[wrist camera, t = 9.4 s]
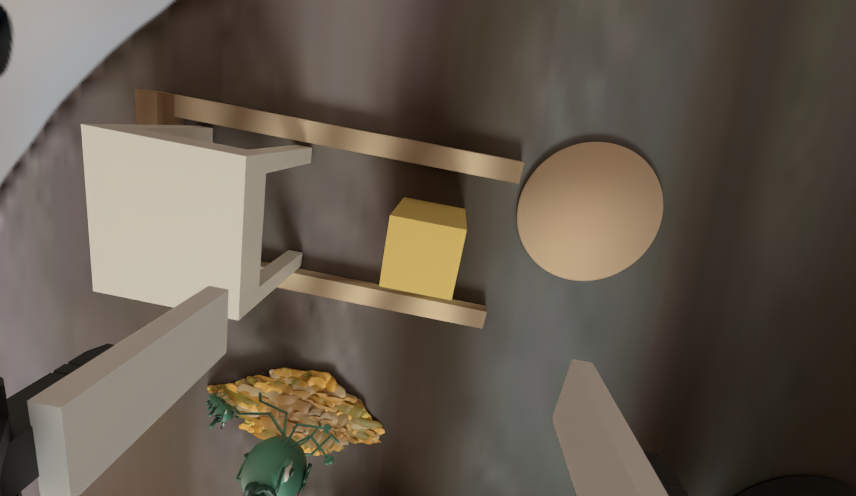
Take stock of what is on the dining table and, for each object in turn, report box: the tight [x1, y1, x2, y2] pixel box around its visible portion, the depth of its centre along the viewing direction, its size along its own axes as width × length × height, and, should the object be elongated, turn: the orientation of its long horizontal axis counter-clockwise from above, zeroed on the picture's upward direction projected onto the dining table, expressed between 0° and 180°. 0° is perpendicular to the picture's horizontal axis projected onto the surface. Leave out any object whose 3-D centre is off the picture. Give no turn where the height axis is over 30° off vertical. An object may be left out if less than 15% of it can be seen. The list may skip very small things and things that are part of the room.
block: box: [379, 197, 467, 301], centre depth 30 cm, size 5×5×7 cm
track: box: [135, 88, 524, 329], centre depth 32 cm, size 28×14×3 cm, turn 80°
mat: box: [517, 142, 663, 281], centre depth 31 cm, size 11×11×1 cm
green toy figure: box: [206, 368, 385, 496], centre depth 33 cm, size 10×18×15 cm, turn 67°
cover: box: [81, 124, 312, 321], centre depth 28 cm, size 9×10×10 cm
